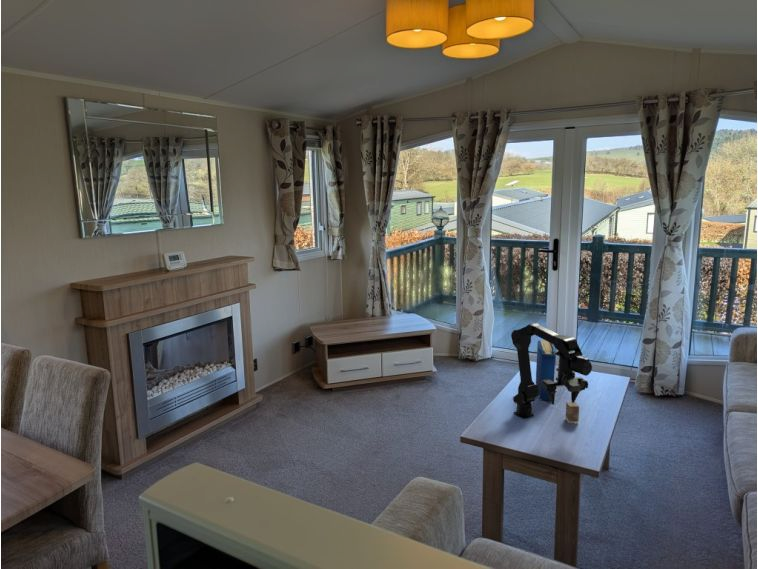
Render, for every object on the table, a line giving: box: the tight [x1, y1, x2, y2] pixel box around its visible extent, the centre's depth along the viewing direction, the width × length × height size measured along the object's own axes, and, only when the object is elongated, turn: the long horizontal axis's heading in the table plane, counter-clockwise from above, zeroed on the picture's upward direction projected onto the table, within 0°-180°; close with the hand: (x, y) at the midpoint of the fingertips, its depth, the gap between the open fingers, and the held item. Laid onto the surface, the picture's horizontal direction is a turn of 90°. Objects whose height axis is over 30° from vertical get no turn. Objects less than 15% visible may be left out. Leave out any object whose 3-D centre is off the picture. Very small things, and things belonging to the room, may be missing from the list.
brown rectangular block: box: [564, 401, 580, 425], centre depth 231 cm, size 4×5×8 cm
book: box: [535, 340, 557, 402], centre depth 261 cm, size 22×7×25 cm, turn 168°
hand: (562, 403), depth 219 cm, fingers open, 9 cm apart
